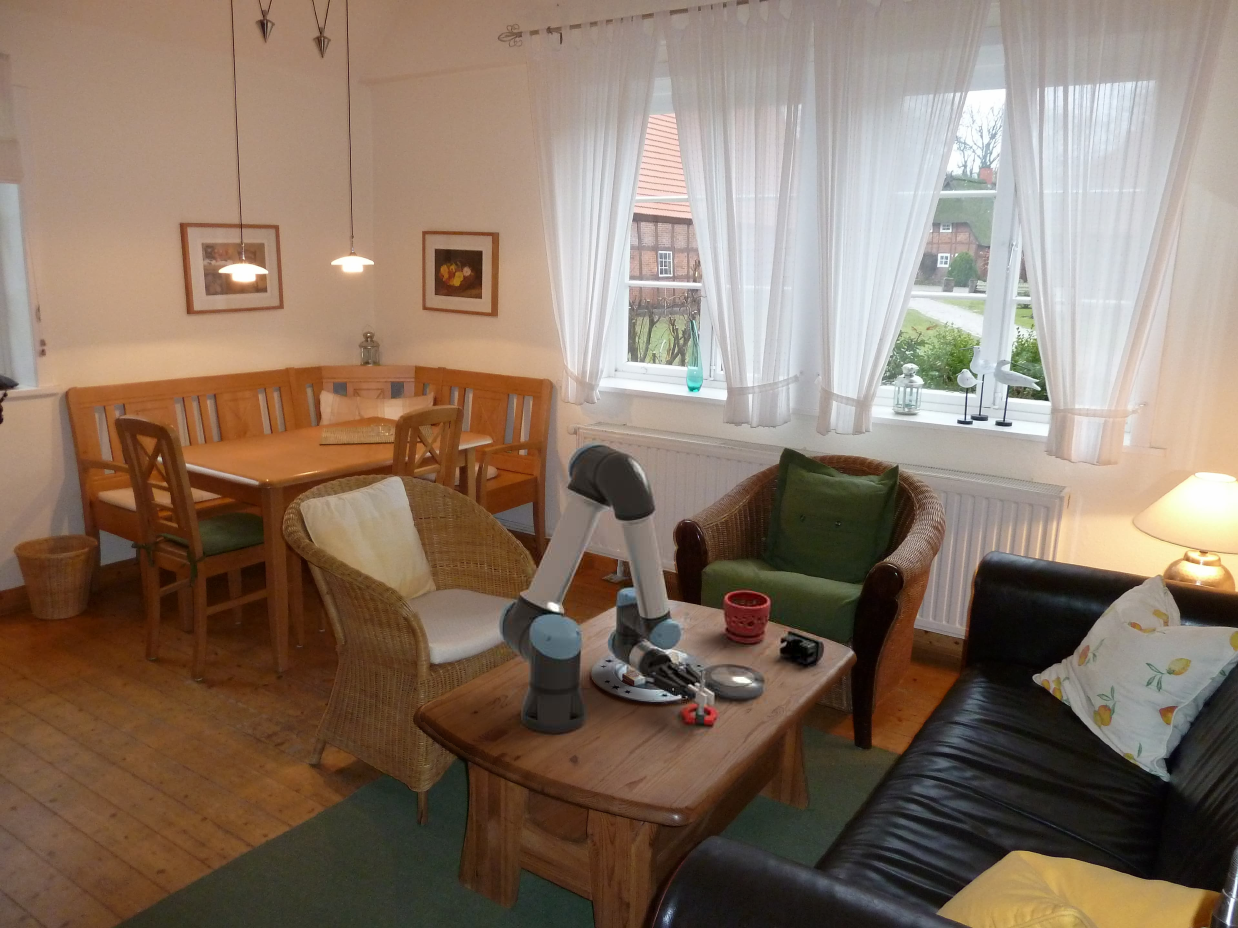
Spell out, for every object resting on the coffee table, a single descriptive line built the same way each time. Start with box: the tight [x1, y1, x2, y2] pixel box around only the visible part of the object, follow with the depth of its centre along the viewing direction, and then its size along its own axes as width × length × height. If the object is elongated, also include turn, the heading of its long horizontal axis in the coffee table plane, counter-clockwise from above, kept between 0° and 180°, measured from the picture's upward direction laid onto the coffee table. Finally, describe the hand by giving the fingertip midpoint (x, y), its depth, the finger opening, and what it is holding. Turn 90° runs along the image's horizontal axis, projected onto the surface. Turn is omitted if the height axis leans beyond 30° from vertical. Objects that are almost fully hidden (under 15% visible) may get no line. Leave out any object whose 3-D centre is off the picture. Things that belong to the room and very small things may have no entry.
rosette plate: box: [702, 663, 766, 702], centre depth 245 cm, size 16×16×3 cm
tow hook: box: [681, 670, 718, 726], centre depth 228 cm, size 8×13×9 cm
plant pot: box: [723, 590, 771, 644], centre depth 276 cm, size 13×13×12 cm
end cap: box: [779, 630, 825, 669], centre depth 263 cm, size 10×7×7 cm
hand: (709, 700), depth 222 cm, fingers closed on tow hook
